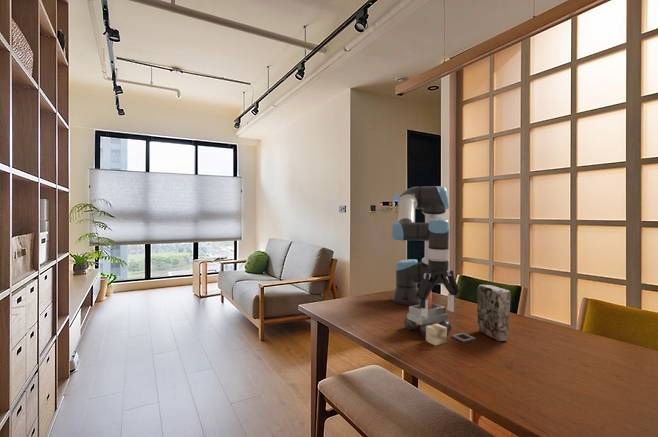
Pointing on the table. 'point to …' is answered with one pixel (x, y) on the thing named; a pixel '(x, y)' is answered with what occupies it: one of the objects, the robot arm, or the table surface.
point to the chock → (436, 334)
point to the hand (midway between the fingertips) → (437, 313)
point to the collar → (463, 339)
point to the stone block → (493, 311)
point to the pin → (429, 300)
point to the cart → (426, 318)
